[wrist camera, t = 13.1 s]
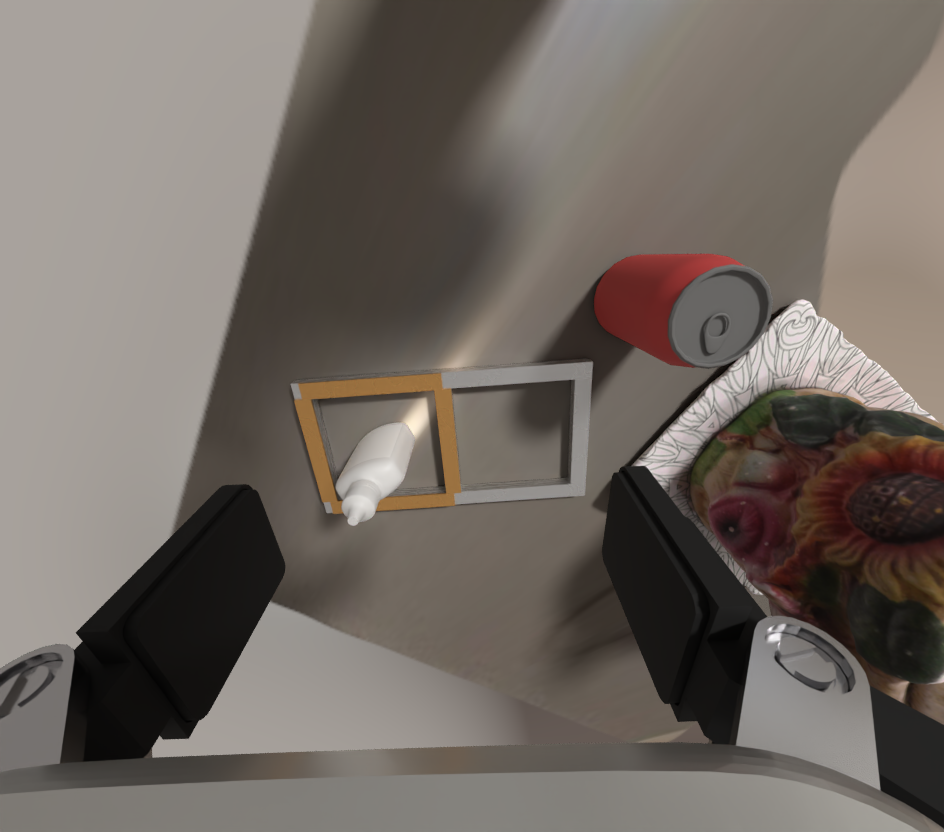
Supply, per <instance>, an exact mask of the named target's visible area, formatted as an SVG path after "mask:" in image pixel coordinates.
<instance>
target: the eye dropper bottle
mask: <svg viewBox="0 0 944 832" xmlns="http://www.w3.org/2000/svg"><path fill="white" fill-rule="evenodd" d="M414 442H415V437H414V435H413V433H412V432H411V430H410V428H409V427H408V425H406V424H405V423H402V422H398V423H390V424H386V425H382V426H380V427H377V428H376V429H374V430H372V431H371V432H369V433H368V434H367V435H365V436H364V437H363V438H362V439H361V441H360V442H359V443H358V445H357V446H356V448H355V450H354V452H353V453H352V455H351V457H350V459H349V460H348V462H347V464H346V466H345V467H344V469H343V471H342V473H341V475H340V476H339V478H338V480H337V483H336V486H335V487H336V491H337V493H338V494H339V496H340V497H341V498H342V500H343V501H342V506H341V508H342V511H343V513H344V515H345V516H346V517H348V523H349V524H350V525H352V526H355V525H357V524H358V522H363V521H367V520H369V519H371V518H372V517H373V515H374V514H375V511H376V509H377V506H378V503H379V501H380V500H382V499H383V498H385V497H387V496H388V495H389V494H391V493H392V492H393V491H394V490H395V489H396V488H397V487H398V486H399V485H400V484H401V483H402V481H403V479H404V477H405V474H406V471H407V468H408V464H409V460H410V457H411V453H412V450H413V446H414Z"/></svg>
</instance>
